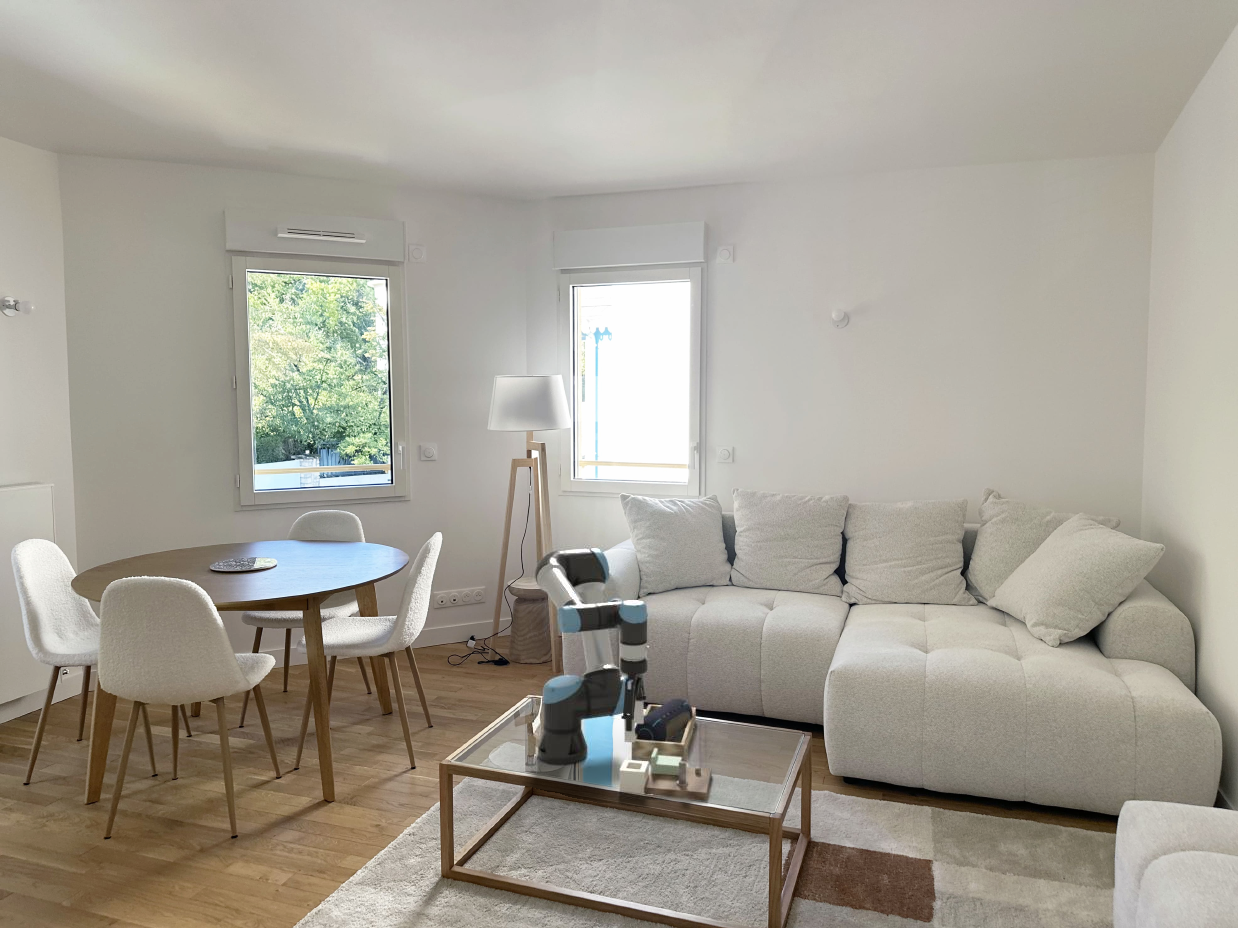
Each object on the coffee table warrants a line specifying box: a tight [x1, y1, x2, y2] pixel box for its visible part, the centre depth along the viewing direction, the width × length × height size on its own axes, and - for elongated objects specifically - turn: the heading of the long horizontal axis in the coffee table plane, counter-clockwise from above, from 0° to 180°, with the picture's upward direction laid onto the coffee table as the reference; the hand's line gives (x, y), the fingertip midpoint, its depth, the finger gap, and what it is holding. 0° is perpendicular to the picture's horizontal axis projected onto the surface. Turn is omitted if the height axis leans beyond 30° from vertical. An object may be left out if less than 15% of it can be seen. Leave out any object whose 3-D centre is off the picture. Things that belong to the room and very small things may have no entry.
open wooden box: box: [631, 704, 697, 762], centre depth 269 cm, size 16×31×5 cm, turn 168°
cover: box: [650, 748, 682, 776], centre depth 241 cm, size 8×6×5 cm
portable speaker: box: [635, 698, 693, 742], centre depth 268 cm, size 25×10×10 cm, turn 146°
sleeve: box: [619, 759, 650, 794], centre depth 235 cm, size 7×7×6 cm
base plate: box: [643, 760, 712, 801], centre depth 236 cm, size 17×15×8 cm
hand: (634, 732), depth 234 cm, fingers open, 13 cm apart
